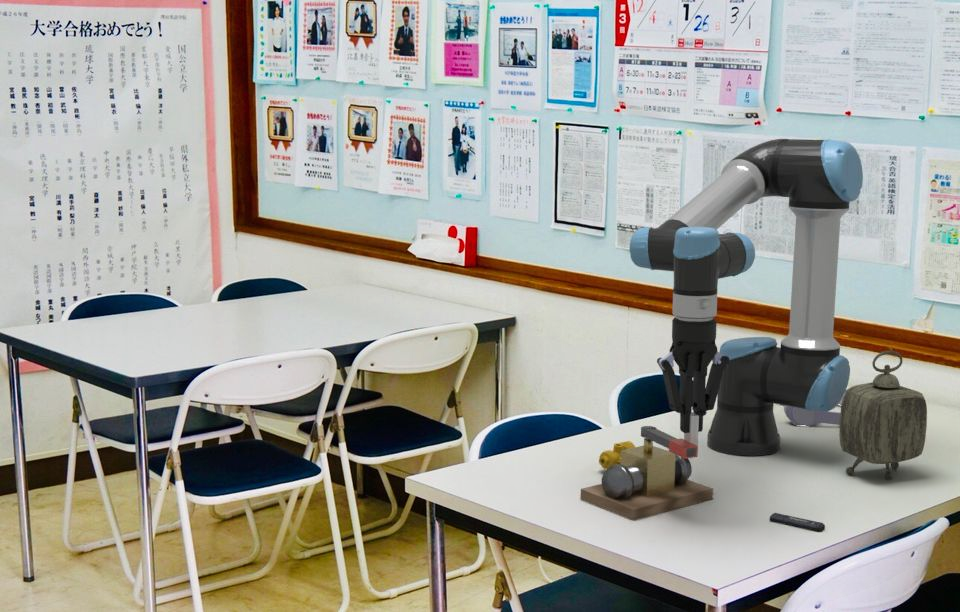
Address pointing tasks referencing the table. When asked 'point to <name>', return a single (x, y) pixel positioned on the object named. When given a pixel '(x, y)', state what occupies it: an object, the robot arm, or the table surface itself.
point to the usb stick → (797, 522)
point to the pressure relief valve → (614, 454)
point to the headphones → (811, 416)
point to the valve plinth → (648, 500)
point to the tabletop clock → (883, 421)
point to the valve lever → (670, 442)
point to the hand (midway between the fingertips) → (690, 449)
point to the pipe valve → (645, 472)
